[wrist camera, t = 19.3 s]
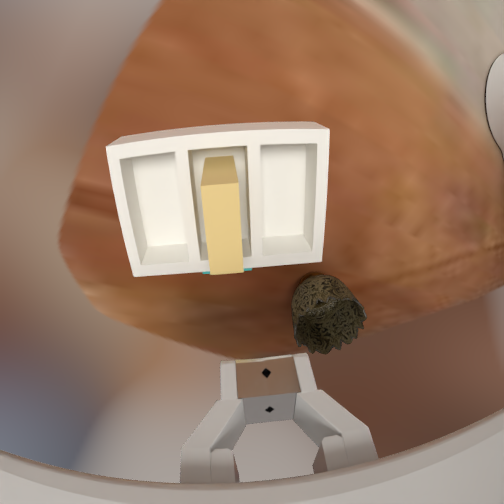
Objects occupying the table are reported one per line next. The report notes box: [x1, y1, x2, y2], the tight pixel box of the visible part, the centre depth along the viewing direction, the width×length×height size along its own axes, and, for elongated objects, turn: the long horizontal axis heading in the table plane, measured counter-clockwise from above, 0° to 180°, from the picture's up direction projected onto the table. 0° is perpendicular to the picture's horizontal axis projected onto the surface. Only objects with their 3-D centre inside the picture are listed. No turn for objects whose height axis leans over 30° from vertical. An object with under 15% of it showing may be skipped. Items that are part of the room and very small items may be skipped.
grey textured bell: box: [291, 272, 367, 354], centre depth 33 cm, size 8×7×8 cm
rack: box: [106, 122, 330, 277], centre depth 28 cm, size 18×13×4 cm
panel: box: [200, 155, 244, 275], centre depth 26 cm, size 2×7×8 cm, turn 2°
